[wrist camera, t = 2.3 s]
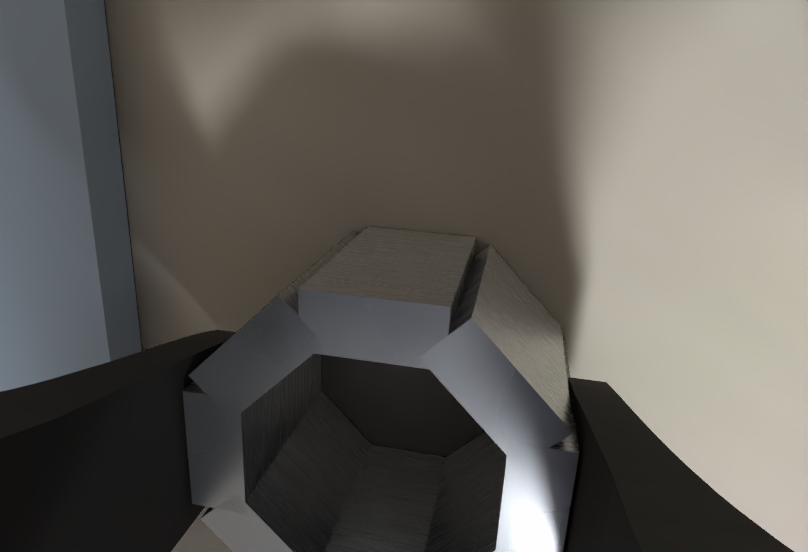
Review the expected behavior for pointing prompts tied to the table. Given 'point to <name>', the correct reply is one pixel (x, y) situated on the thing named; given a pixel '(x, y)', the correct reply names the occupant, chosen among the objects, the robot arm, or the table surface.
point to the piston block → (61, 196)
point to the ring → (343, 443)
